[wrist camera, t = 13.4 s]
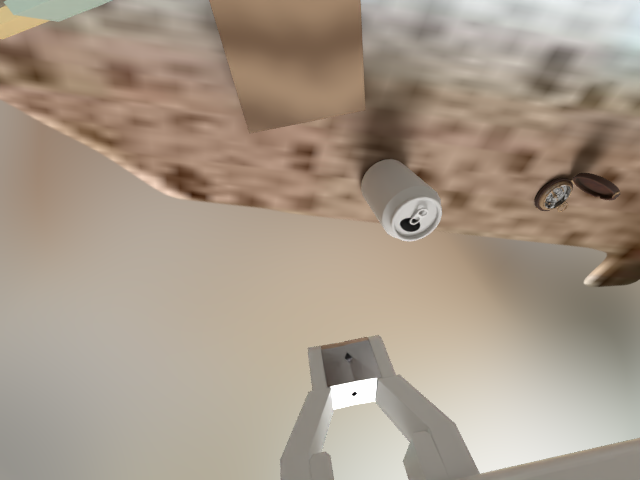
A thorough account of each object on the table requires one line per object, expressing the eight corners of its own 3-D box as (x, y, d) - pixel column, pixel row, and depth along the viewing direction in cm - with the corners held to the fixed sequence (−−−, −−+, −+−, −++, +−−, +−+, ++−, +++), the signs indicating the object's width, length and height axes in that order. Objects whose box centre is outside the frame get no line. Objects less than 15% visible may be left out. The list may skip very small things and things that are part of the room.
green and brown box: (208, -39, 24) (189, -67, 19) (337, -63, 25) (356, -97, 19) (253, 119, 33) (249, 133, 27) (349, 100, 33) (365, 110, 27)
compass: (527, 198, 47) (564, 218, 41) (570, 162, 44) (617, 179, 38) (544, 219, 50) (580, 241, 44) (585, 188, 47) (629, 207, 41)
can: (350, 193, 41) (375, 236, 31) (376, 148, 37) (412, 182, 28) (388, 208, 43) (422, 253, 34) (415, 168, 40) (461, 204, 30)
